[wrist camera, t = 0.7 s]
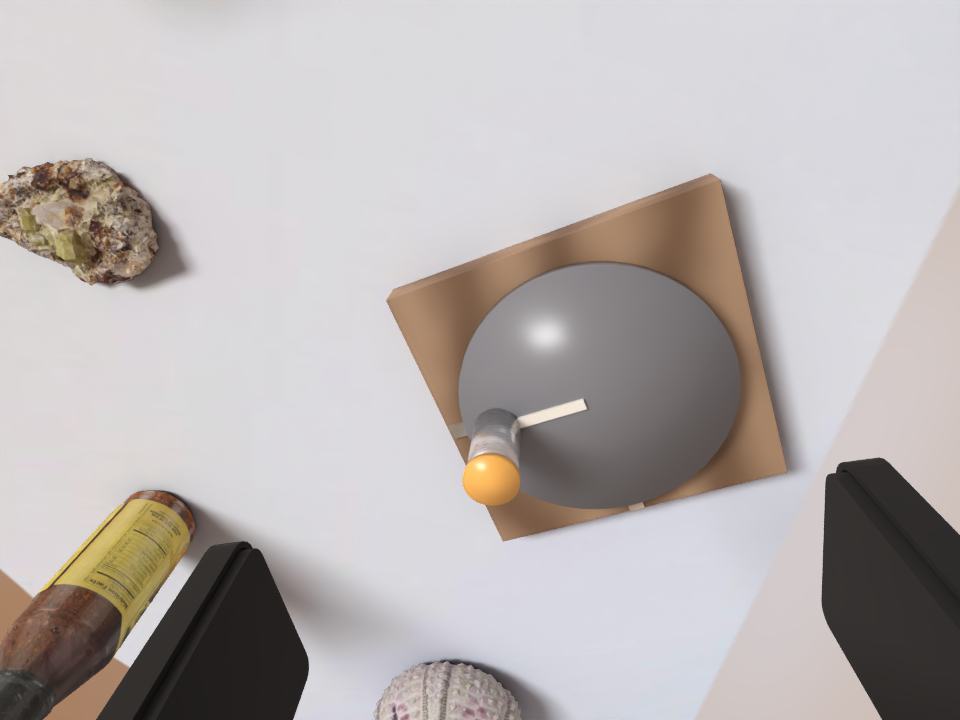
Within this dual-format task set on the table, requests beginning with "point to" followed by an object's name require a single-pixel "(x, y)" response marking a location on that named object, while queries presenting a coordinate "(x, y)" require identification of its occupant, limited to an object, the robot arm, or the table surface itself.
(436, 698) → the sea urchin shell
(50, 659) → the sauce bottle
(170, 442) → the table surface
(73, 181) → the mineral rock
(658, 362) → the dial
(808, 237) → the table surface
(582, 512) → the dial board
